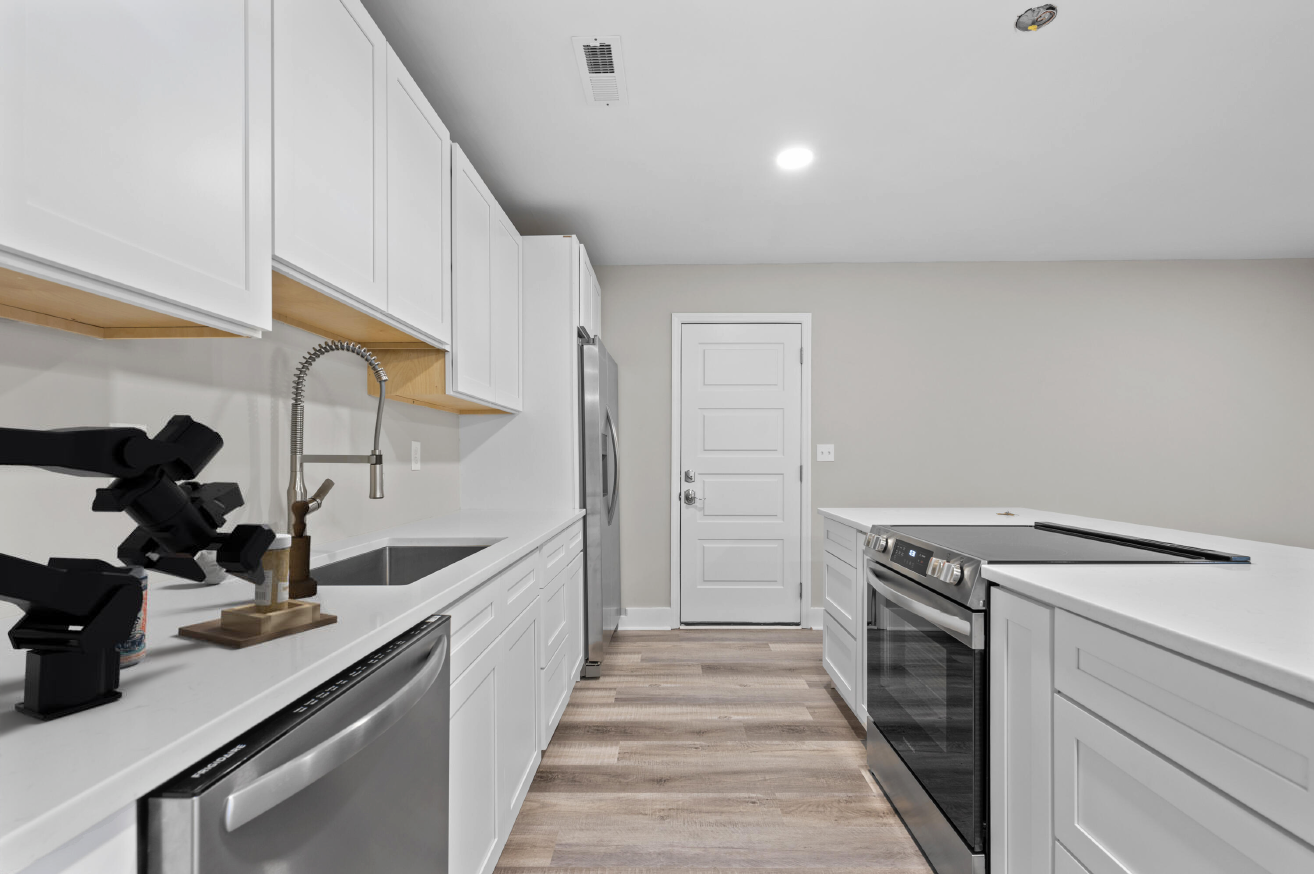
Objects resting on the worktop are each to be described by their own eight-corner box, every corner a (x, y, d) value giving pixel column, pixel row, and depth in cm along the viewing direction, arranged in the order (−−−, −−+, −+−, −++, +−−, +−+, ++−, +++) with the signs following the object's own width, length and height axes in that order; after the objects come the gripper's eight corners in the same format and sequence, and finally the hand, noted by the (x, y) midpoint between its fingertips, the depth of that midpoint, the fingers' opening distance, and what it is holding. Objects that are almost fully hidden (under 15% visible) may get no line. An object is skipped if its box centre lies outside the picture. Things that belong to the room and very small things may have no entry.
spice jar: (293, 623, 92) (296, 534, 93) (259, 629, 89) (262, 537, 89) (281, 618, 95) (284, 532, 95) (247, 624, 91) (251, 534, 92)
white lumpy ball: (215, 579, 127) (216, 546, 128) (240, 582, 125) (241, 548, 126) (185, 585, 122) (186, 550, 122) (211, 588, 120) (212, 552, 120)
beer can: (109, 673, 73) (112, 573, 73) (85, 667, 75) (88, 570, 75) (154, 660, 78) (157, 566, 78) (130, 655, 79) (133, 563, 80)
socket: (240, 648, 83) (241, 622, 83) (178, 634, 89) (179, 610, 89) (337, 622, 97) (337, 600, 97) (277, 611, 103) (278, 590, 103)
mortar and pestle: (270, 599, 111) (274, 501, 111) (283, 592, 117) (287, 499, 118) (310, 598, 112) (314, 501, 113) (321, 590, 119) (324, 499, 119)
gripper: (268, 463, 79) (322, 537, 89) (143, 460, 81) (210, 533, 92) (213, 530, 71) (280, 603, 81) (76, 525, 73) (158, 597, 84)
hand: (232, 581), depth 85 cm, fingers open, 9 cm apart
